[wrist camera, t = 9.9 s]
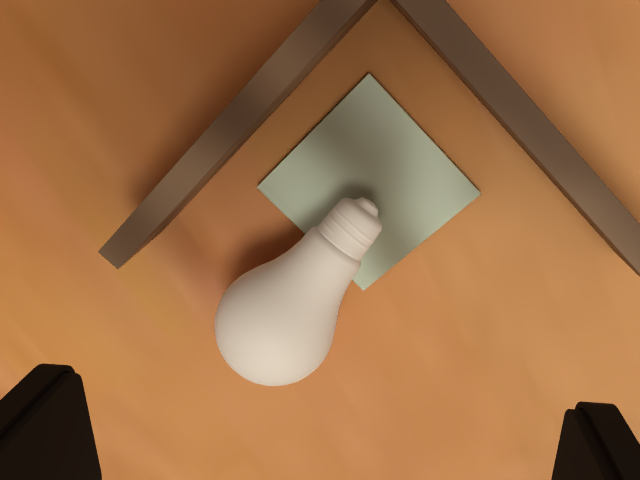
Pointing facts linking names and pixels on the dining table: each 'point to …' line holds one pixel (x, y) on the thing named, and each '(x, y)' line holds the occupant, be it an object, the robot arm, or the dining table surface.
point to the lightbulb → (295, 299)
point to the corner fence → (376, 147)
